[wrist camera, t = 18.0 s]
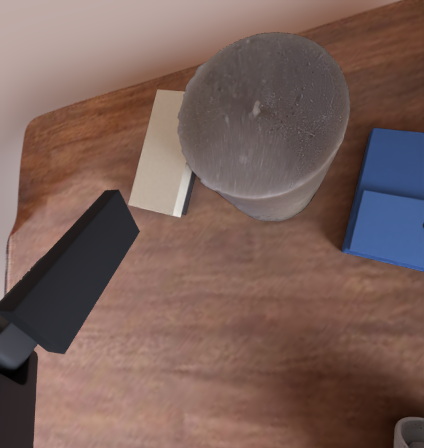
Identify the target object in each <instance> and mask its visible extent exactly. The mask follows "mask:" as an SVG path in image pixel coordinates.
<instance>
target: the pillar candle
mask: <svg viewBox="0 0 424 448" xmlns="http://www.w3.org/2000/svg"><path fill="white" fill-rule="evenodd" d="M349 114H350V95H349V88H348V85H347V82H346V80H345V78H344V75H343V73H342V70H341V68H340V66H339V64H338V63H337V62H336V61H335V60H334V59H333V58H332V57H331V55H330V54H329V53H328V52H327V50H325V49H324V48H323V47H322V46H321V45H319V44H317V43H316V42H314V41H311V40H310V39H308V38H305V37H302V36H299V35H296V34H290V33H279V32H277V33H275V32H274V33H261V34H256V35H253V36H250V37H247V38H245V39H241V40H239V41H237V42H234V43H233V44H231V45H229V46H226V47H225V48H223V49H222V50H220V51H219V52H218V53H216V55H214V56H213V57H211V59H209V60H208V61H207V62H206V63H205V64H202V65H201V66H199V68H198V69H197V71H196V72H195V75H194V77H192V78H191V80H190V81H189V83H188V84H187V86H186V92H185V93H184V94H183V101H182V105H181V108H180V111H179V113H178V117H177V118H178V119H179V125H178V131H177V133H178V135H179V140H180V144H181V147H182V150H181V152H182V153H183V155H184V157H185V159H186V161H187V162H188V164H189V166H190V168H191V170H192V171H193V172H194V173H195V174H196V175H197V176H198V177H199V178H200V179H201V181H200V182H201V183H203V184H204V186H206V187H208V188H209V189H212V190H215V191H216V192H218V193H219V194H220V195H221V196H222V197H224V198H225V199H226V200H228V201H229V202H230V203H231V204H233V205H234V206H235V207H236V208H238V209H239V210H240V211H242V212H243V213H245V214H247V215H248V216H250V217H252V218H255V219H258V220H263V221H283V220H286V219H289V218H291V217H293V216H295V215H296V214H298V213H300V212H301V211H302V210H303V209H304V208H305V207H306V206H307V205H308V204H309V202H310V201H311V200H312V198H313V197H314V195H315V193H316V191H317V189H318V188H319V186H320V184H321V183H322V181H323V179H324V177H325V175H326V173H327V171H328V169H329V167H330V165H331V163H332V161H333V159H334V157H335V155H336V154H337V151H338V149H339V147H340V145H341V143H342V141H343V139H344V135H345V132H346V128H347V123H348V119H349Z"/></svg>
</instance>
